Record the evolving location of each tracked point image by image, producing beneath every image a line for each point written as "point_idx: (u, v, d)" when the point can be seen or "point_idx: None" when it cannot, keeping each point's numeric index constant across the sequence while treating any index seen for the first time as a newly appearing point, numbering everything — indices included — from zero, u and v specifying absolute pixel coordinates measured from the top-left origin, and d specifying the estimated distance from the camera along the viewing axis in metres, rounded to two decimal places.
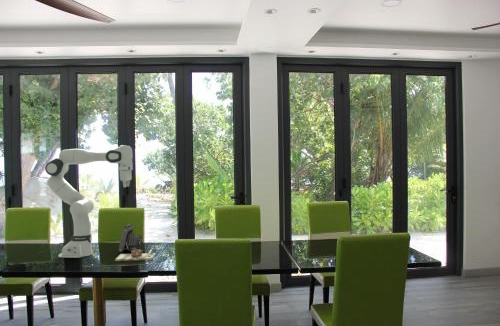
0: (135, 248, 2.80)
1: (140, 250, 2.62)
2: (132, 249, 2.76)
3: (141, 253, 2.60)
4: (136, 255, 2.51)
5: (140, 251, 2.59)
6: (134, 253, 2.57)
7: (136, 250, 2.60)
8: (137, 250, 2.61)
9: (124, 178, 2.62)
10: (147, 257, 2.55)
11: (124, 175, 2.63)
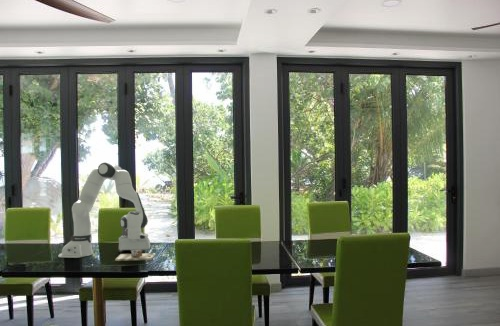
0: None
1: (140, 250, 2.62)
2: None
3: (141, 253, 2.60)
4: (137, 255, 2.51)
5: (140, 251, 2.59)
6: None
7: None
8: None
9: (149, 246, 2.56)
10: (147, 257, 2.55)
11: (149, 242, 2.56)
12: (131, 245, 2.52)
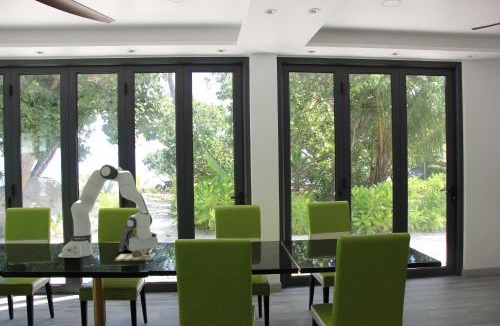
0: None
1: None
2: None
3: None
4: (148, 253, 2.57)
5: None
6: (140, 252, 2.58)
7: (137, 250, 2.61)
8: (137, 250, 2.61)
9: None
10: (147, 257, 2.55)
11: None
12: (142, 245, 2.54)
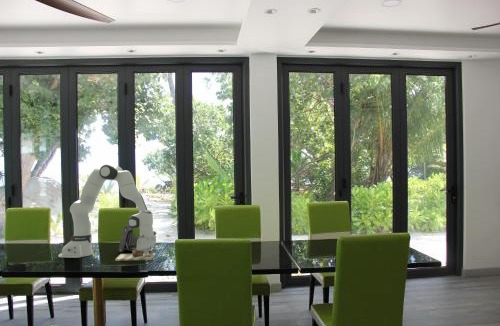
0: (135, 248, 2.80)
1: None
2: (132, 249, 2.76)
3: None
4: (151, 251, 2.63)
5: None
6: (142, 252, 2.61)
7: (138, 250, 2.61)
8: (137, 250, 2.62)
9: None
10: (147, 257, 2.55)
11: None
12: (147, 244, 2.58)
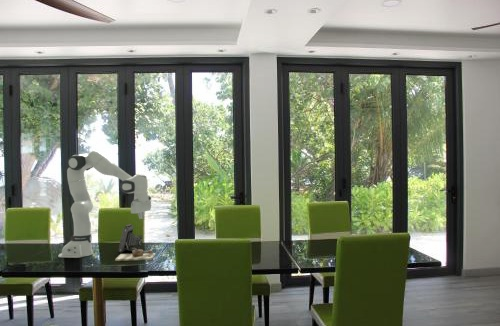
0: (135, 248, 2.80)
1: None
2: (132, 249, 2.76)
3: None
4: (151, 251, 2.63)
5: None
6: (142, 252, 2.61)
7: (138, 250, 2.61)
8: (137, 250, 2.62)
9: None
10: (147, 257, 2.55)
11: None
12: (141, 208, 2.55)
